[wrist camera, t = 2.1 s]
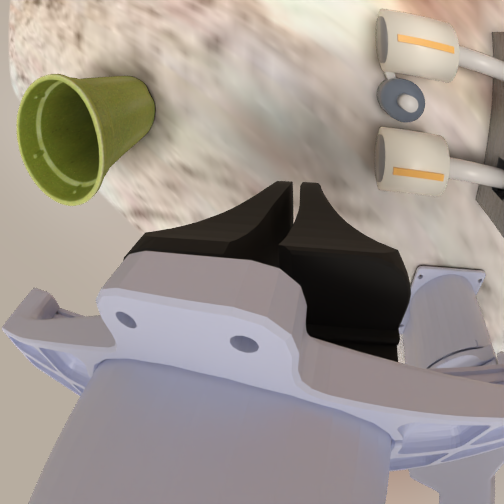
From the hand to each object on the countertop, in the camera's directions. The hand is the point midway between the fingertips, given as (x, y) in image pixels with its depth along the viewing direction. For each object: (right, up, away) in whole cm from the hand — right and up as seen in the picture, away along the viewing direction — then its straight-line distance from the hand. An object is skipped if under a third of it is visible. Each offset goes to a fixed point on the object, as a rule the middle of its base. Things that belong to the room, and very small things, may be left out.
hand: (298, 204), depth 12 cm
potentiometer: (+8, +8, +4) cm, 12 cm away
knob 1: (+11, +11, 0) cm, 15 cm away
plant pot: (-12, +10, +9) cm, 18 cm away
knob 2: (+11, +5, +4) cm, 13 cm away
